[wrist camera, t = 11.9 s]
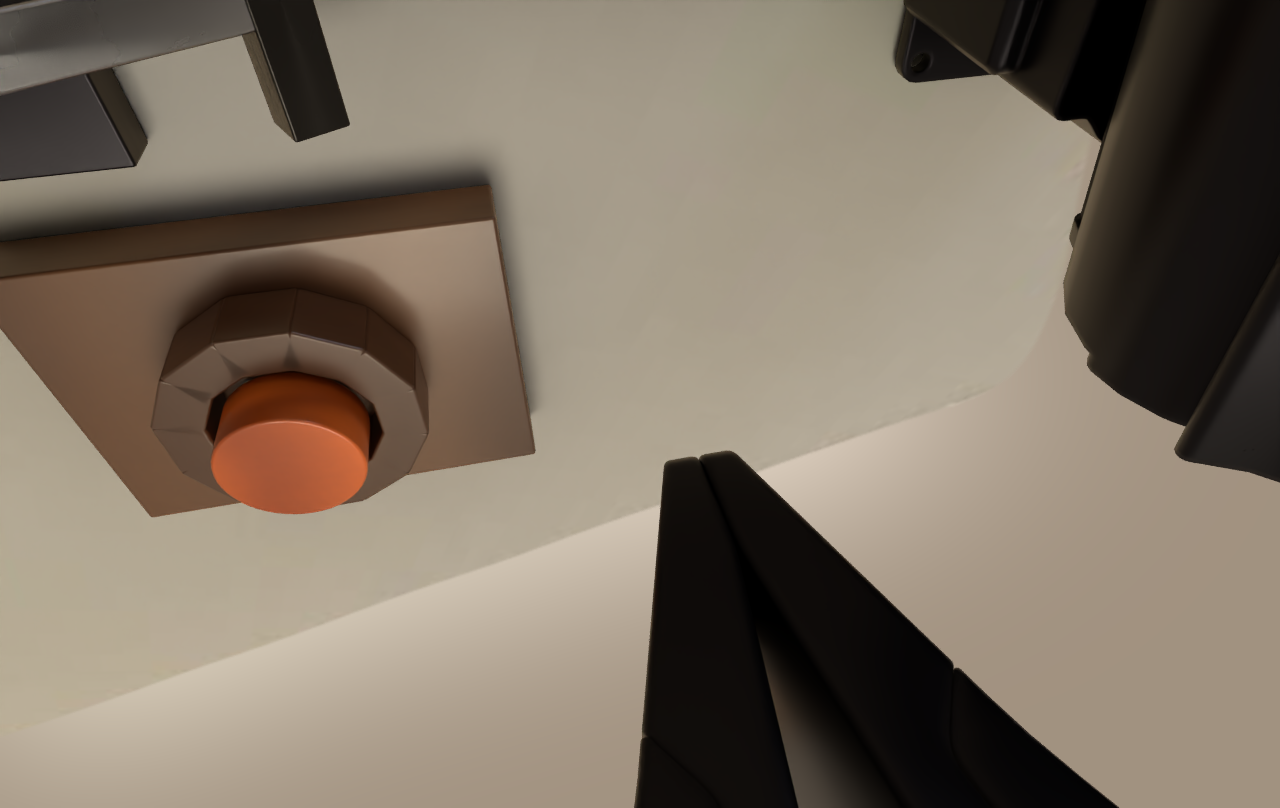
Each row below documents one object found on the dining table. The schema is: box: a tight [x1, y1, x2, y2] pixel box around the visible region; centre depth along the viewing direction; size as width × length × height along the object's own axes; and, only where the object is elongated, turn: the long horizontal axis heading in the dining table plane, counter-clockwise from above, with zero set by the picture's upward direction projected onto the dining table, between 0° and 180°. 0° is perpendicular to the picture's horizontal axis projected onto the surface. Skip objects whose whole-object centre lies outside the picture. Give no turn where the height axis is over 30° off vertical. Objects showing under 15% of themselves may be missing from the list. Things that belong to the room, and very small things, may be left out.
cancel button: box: [211, 372, 370, 514], centre depth 20 cm, size 4×4×2 cm
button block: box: [0, 185, 536, 517], centre depth 21 cm, size 12×9×4 cm
